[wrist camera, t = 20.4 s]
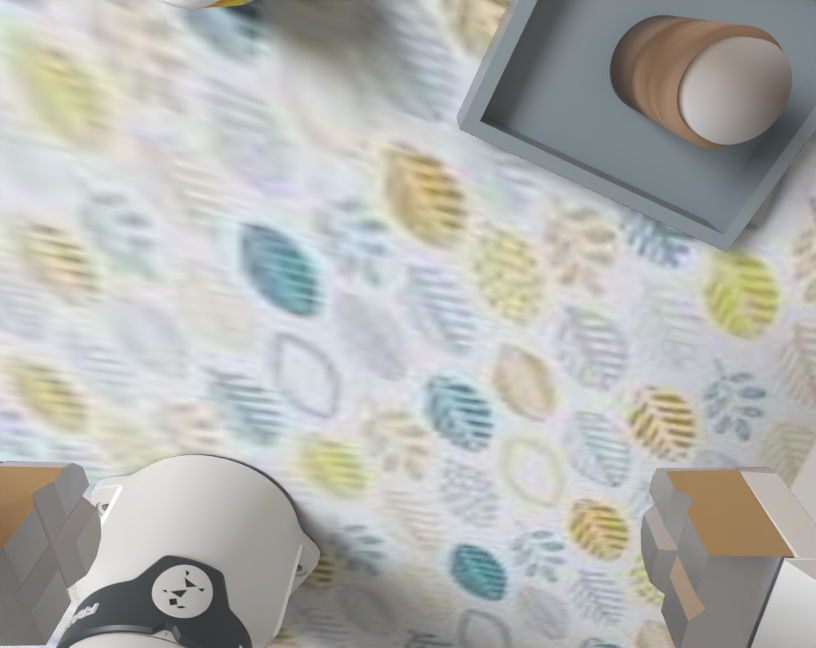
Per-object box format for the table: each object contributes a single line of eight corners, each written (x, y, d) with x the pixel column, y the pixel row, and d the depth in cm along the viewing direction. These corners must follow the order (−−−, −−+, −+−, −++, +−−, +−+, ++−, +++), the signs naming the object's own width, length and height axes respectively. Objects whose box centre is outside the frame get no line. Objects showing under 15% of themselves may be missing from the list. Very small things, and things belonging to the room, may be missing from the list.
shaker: (670, 123, 36) (755, 171, 27) (593, 92, 35) (654, 129, 26) (718, 35, 33) (828, 54, 24) (638, 0, 33) (721, 6, 24)
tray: (703, 231, 39) (726, 252, 36) (456, 117, 37) (459, 129, 34) (864, 0, 33) (908, 1, 30) (582, -159, 30) (600, -176, 27)
